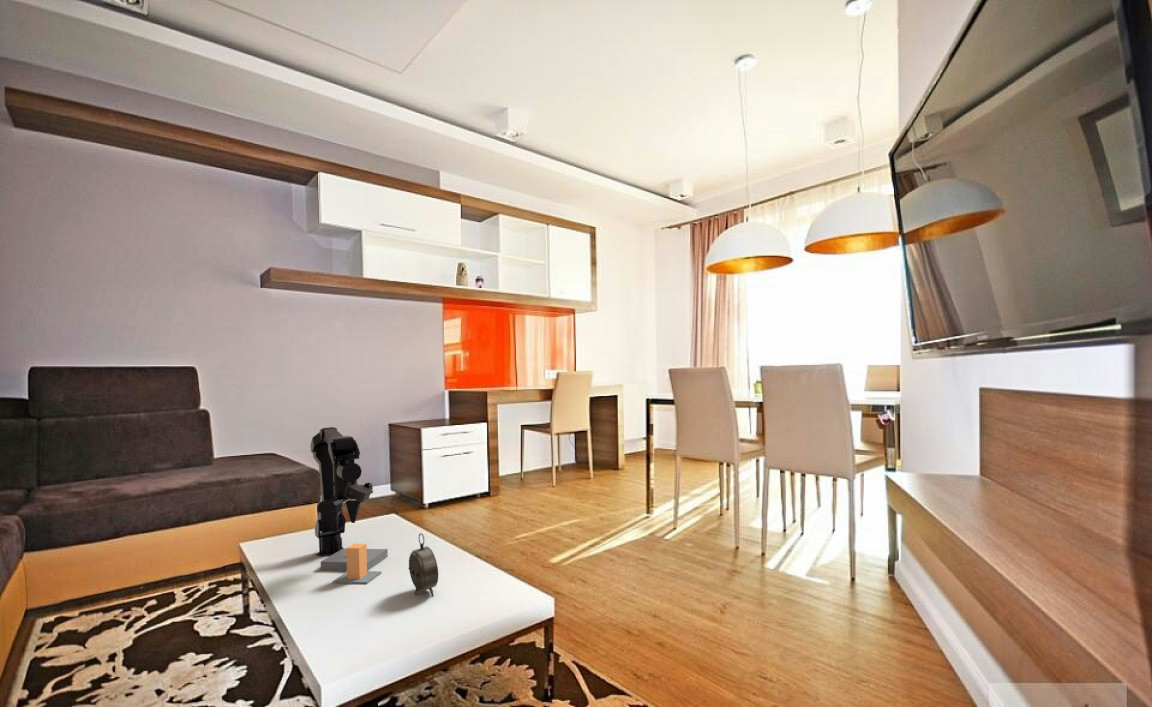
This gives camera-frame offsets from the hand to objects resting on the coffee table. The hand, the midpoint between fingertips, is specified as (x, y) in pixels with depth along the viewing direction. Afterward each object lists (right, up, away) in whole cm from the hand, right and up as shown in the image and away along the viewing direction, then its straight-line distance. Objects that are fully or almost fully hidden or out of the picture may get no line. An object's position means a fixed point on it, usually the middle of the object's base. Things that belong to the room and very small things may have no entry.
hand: (344, 527), depth 164 cm
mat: (+7, -13, -8) cm, 17 cm away
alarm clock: (+31, -11, -20) cm, 39 cm away
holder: (+1, -13, +5) cm, 14 cm away
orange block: (+7, -12, -8) cm, 16 cm away
